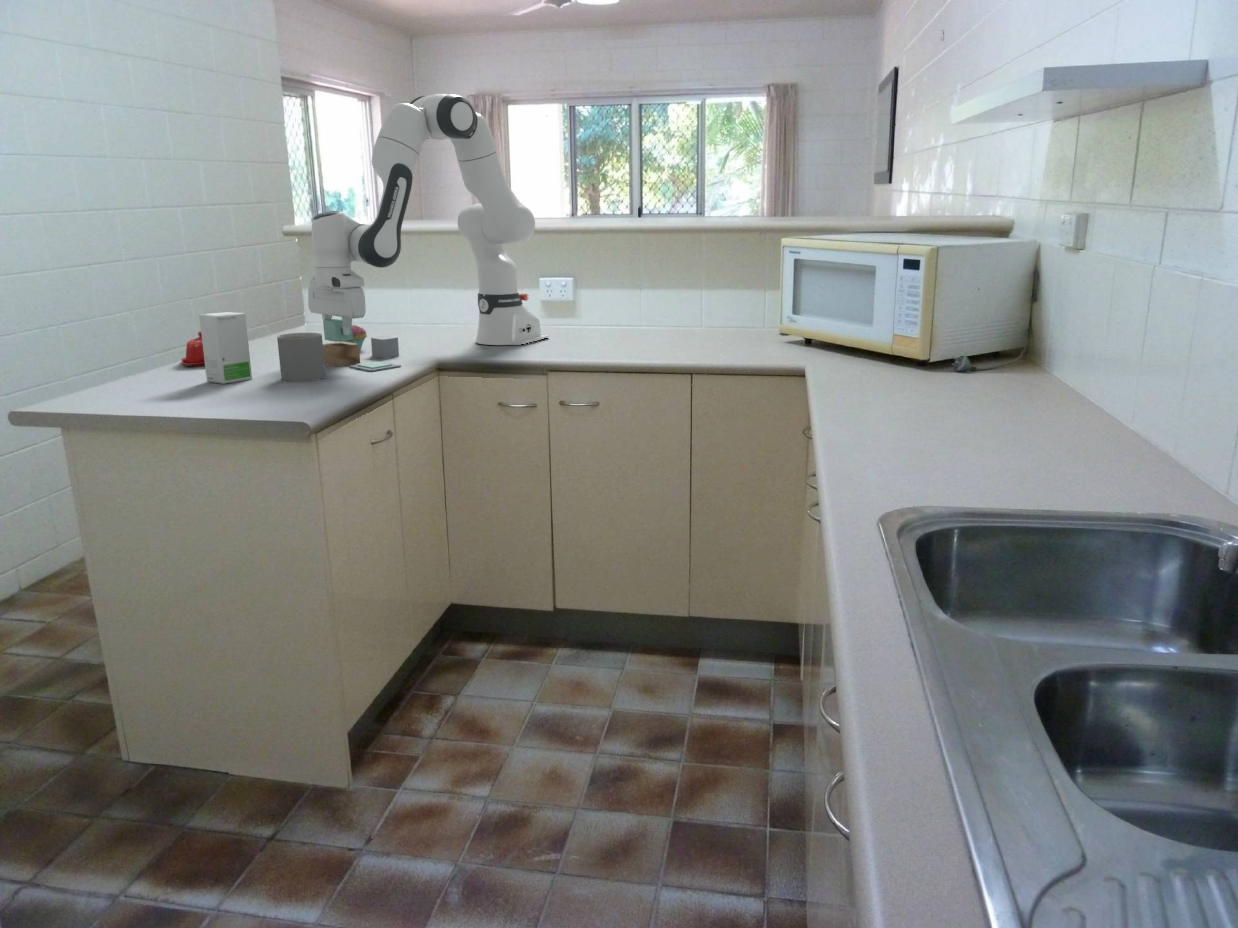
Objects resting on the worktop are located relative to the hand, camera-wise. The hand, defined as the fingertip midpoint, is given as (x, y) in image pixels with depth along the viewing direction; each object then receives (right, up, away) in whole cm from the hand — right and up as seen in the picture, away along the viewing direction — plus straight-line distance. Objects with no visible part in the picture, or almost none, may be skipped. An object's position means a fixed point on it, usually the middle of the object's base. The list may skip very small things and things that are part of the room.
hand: (338, 333), depth 238 cm
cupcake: (-2, -2, +20) cm, 21 cm away
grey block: (+9, -4, +12) cm, 16 cm away
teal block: (0, -2, 0) cm, 2 cm away
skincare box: (-19, -14, -20) cm, 31 cm away
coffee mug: (-4, -13, -15) cm, 20 cm away
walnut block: (0, -8, +2) cm, 8 cm away
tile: (+10, -9, -4) cm, 14 cm away
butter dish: (-34, -8, +2) cm, 35 cm away
